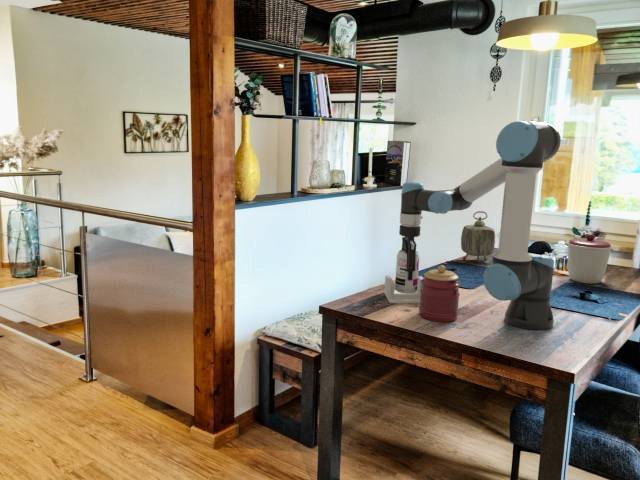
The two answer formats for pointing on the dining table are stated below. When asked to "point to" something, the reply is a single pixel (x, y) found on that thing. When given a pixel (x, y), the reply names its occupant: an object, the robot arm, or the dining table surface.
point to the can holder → (401, 297)
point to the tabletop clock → (478, 239)
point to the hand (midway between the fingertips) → (406, 285)
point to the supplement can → (401, 273)
